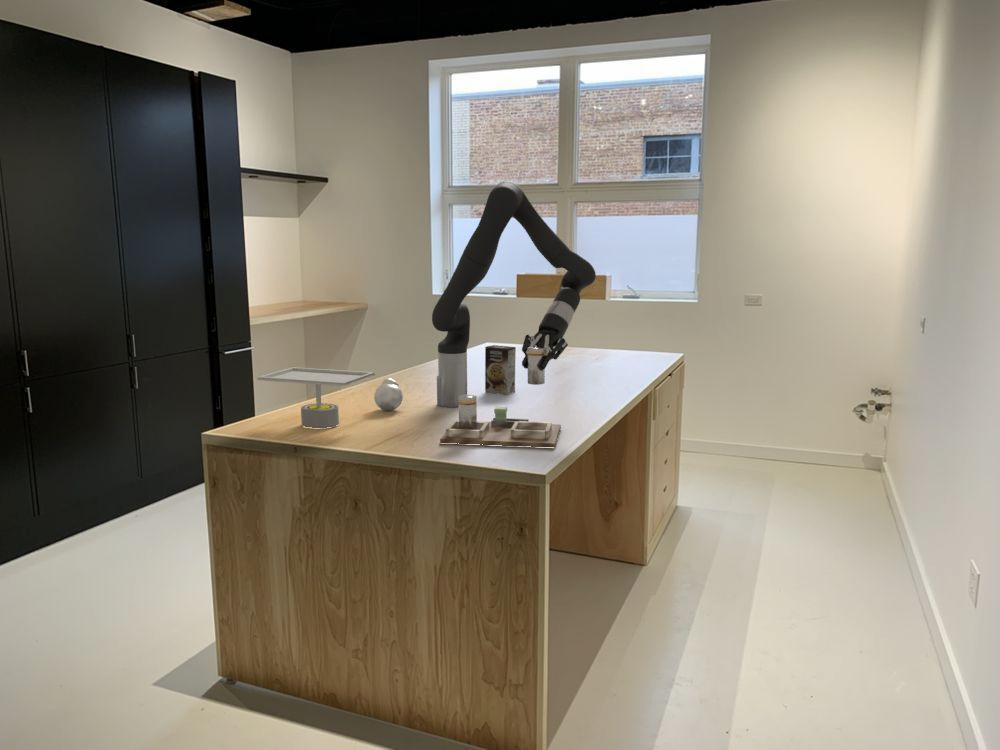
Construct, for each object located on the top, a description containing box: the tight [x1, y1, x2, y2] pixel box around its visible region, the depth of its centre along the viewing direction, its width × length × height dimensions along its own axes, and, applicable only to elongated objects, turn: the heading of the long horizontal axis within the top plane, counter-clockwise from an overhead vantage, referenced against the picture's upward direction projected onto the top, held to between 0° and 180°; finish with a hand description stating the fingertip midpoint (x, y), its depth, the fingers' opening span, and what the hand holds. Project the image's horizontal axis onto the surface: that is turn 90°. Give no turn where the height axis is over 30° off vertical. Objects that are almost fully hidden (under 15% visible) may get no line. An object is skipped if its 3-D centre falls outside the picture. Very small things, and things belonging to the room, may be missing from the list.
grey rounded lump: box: [373, 377, 404, 412], centre depth 234 cm, size 9×10×10 cm
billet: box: [527, 346, 546, 386], centre depth 210 cm, size 5×5×10 cm
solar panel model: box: [256, 366, 376, 428], centre depth 214 cm, size 28×17×15 cm, turn 71°
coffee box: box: [484, 344, 517, 395], centre depth 260 cm, size 9×6×16 cm
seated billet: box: [458, 394, 478, 430], centre depth 200 cm, size 5×5×10 cm
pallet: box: [439, 417, 562, 448], centre depth 203 cm, size 30×20×4 cm, turn 81°
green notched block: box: [493, 406, 508, 421], centre depth 209 cm, size 3×3×5 cm
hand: (532, 367), depth 209 cm, fingers closed on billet, 4 cm apart
